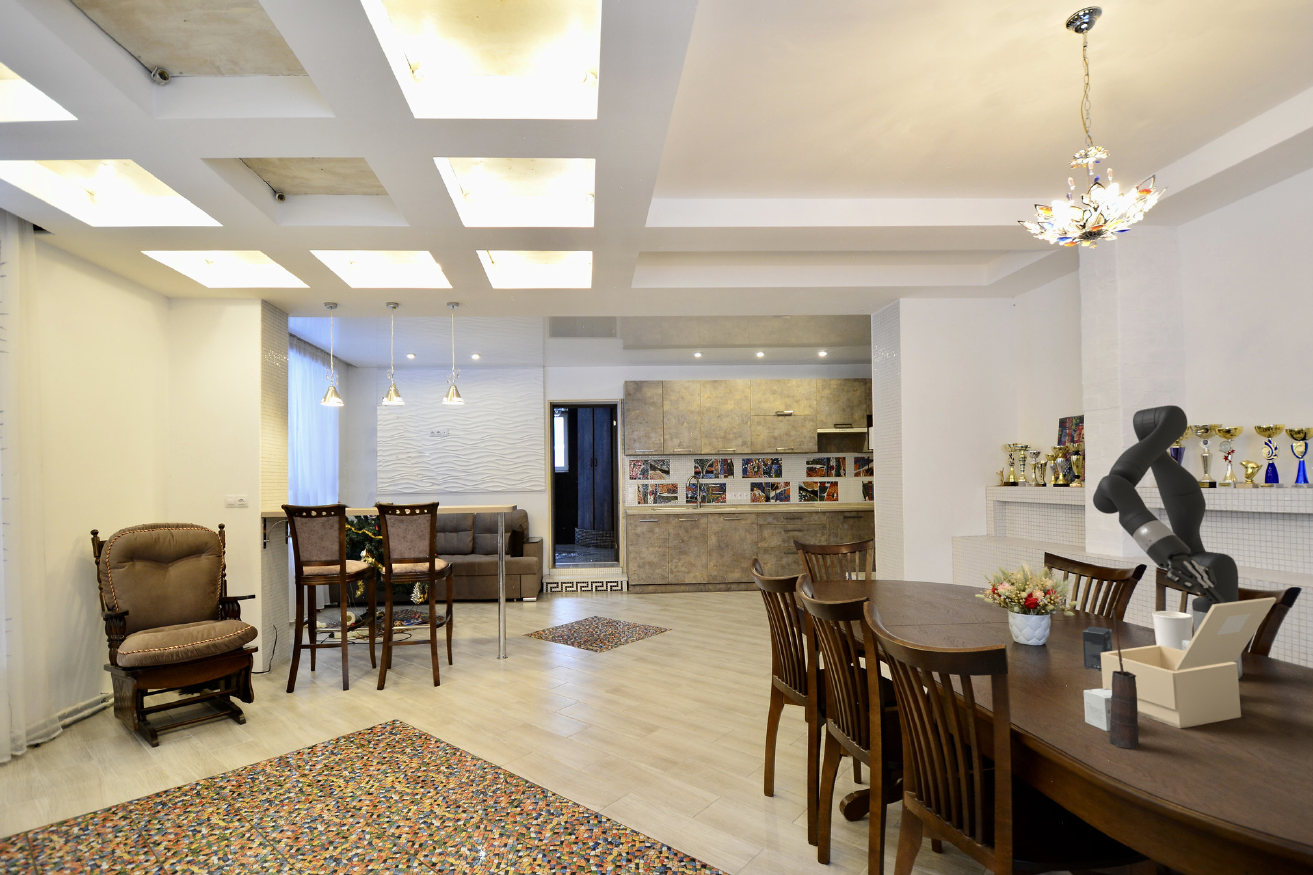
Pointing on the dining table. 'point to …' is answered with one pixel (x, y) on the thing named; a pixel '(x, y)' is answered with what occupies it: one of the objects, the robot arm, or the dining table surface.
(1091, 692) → the skincare box
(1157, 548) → the robot arm
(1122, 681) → the butter churn
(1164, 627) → the candle holder
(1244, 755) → the dining table surface
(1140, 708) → the carton
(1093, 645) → the box
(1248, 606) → the top flap
